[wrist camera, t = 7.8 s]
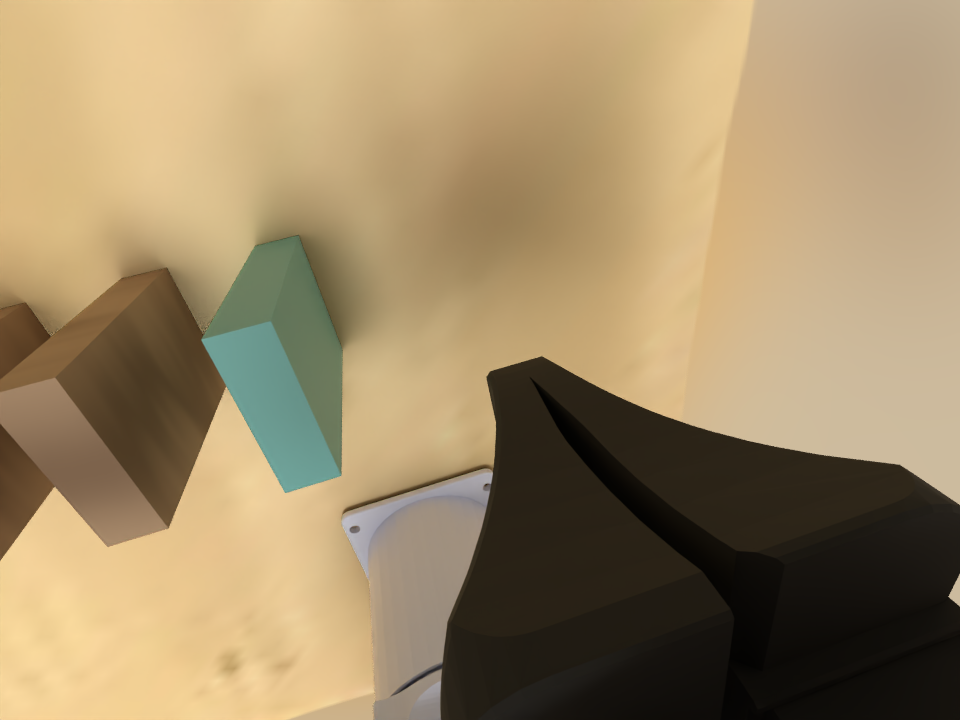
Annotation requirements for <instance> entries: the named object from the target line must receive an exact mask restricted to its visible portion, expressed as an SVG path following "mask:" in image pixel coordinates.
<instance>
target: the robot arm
mask: <svg viewBox="0 0 960 720" xmlns="http://www.w3.org/2000/svg"><path fill="white" fill-rule="evenodd" d="M486 378H487V382H488V387H489V392H490V396H491V401H492V406H493V410H494V415H495V420H496V444H495V459H494V468H493V472H492V470H490V469H487V468H485V469H481V470H477V471H474V472H471V473H468V474H465V475H462V476H458V477H455V478H452V479H449V480H446V481H442V482H439V483H436V484H433V485H430V486H426V487H423V488H420V489H417V490H414V491H411V492H407V493H404V494H401V495H398V496H395V497H391V498H388V499H385V500H382V501H379V502H376V503H372V504H369V505H366V506H363V507H360V508H356V509H353V510H350V511H347V512H345V513H344V514H343V515H342V518H341V523H342V526H343V529H344V531H345V533H346V535H347V537H348V539H349V541H350V543H351V545H352V547H353V549H354V551H355V553H356V555H357V557H358V560H359V562H360V564H361V566H362V568H363V570H364V572H365V574H366V576H367V578H368V580H369V591H370V611H371V631H372V651H373V671H374V691H375V702H374V703H373V718H374V720H960V607H959V606H958V605H957V604H956V603H955V602H954V601H952V600H951V599H950V598H949V597H948V596H949V594H950V592H951V590H952V588H953V586H954V584H955V582H956V580H957V578H958V576H959V574H960V505H959V504H957V503H956V502H954V501H953V500H951V499H950V498H948V497H947V496H946V495H944V494H942V493H941V492H940V491H938V490H937V489H935V488H934V487H932V486H931V485H929V484H928V483H926V482H925V481H923V480H922V479H920V478H919V477H917V476H916V475H914V474H913V473H911V472H910V471H908V470H907V469H905V468H904V467H902V466H900V465H896V464H888V463H880V462H872V461H864V460H856V459H848V458H840V457H832V456H824V455H818V454H812V453H806V452H801V451H795V450H790V449H784V448H779V447H774V446H769V445H764V444H760V443H755V442H750V441H746V440H742V439H739V438H734V437H731V436H727V435H723V434H719V433H715V432H712V431H708V430H705V429H701V428H698V427H695V426H691V425H689V424H686V423H683V422H680V421H677V420H674V419H671V418H668V417H665V416H662V415H660V414H657V413H655V412H652V411H649V410H647V409H645V408H642V407H640V406H638V405H635V404H633V403H631V402H628V401H626V400H624V399H622V398H620V397H617V396H615V395H613V394H611V393H609V392H607V391H605V390H603V389H601V388H599V387H597V386H595V385H593V384H591V383H589V382H587V381H585V380H584V379H582V378H580V377H578V376H576V375H574V374H573V373H571V372H569V371H567V370H565V369H564V368H562V367H560V366H558V365H557V364H555V363H553V362H551V361H550V360H548V359H546V358H544V357H538V358H535V359H531V360H528V361H524V362H521V363H518V364H514V365H511V366H507V367H504V368H500V369H497V370H494V371H490V373H489V374H488V376H487V377H486ZM488 483H489V485H487V486H484V485H485V484H488ZM352 526H358V527H354V528H353V527H352Z"/></svg>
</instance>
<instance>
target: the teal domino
mask: <svg viewBox="0 0 960 720" xmlns="http://www.w3.org/2000/svg"><path fill="white" fill-rule="evenodd" d="M201 341H202V342H203V344H204V346H205V348H206V350H207V352H208V353H209V355H210V357H211V359H212V361H213V362H214V364H215V366H216V368H217V370H218V372H219V373H220V375H221V377H222V379H223V381H224V382H225V384H226V386H227V388H228V390H229V392H230V393H231V395H232V397H233V399H234V401H235V402H236V404H237V406H238V408H239V410H240V412H241V413H242V415H243V417H244V419H245V421H246V423H247V424H248V426H249V428H250V430H251V432H252V433H253V435H254V437H255V439H256V441H257V443H258V444H259V446H260V448H261V450H262V452H263V453H264V455H265V457H266V459H267V461H268V463H269V464H270V466H271V468H272V470H273V472H274V473H275V475H276V477H277V479H278V481H279V483H280V484H281V486H282V488H283V490H284V492H285V493H287V492H290V491H294V490H297V489H300V488H303V487H307V486H310V485H313V484H316V483H320V482H323V481H326V480H329V479H333V478H336V477H339V476H341V467H342V351H343V350H342V347H341V345H340V342H339V339H338V337H337V334H336V332H335V329H334V326H333V324H332V321H331V319H330V316H329V313H328V311H327V308H326V306H325V303H324V300H323V298H322V295H321V293H320V290H319V287H318V285H317V282H316V280H315V277H314V274H313V272H312V269H311V267H310V264H309V261H308V259H307V256H306V254H305V251H304V248H303V246H302V243H301V241H300V238H299V235H297V236H293V237H289V238H285V239H281V240H277V241H273V242H269V243H265V244H261V245H257V246H255V247H254V249H253V250H252V252H251V254H250V256H249V257H248V259H247V261H246V263H245V264H244V266H243V268H242V270H241V271H240V273H239V275H238V277H237V278H236V280H235V282H234V283H233V285H232V287H231V289H230V290H229V292H228V294H227V296H226V297H225V299H224V301H223V303H222V304H221V306H220V308H219V309H218V311H217V313H216V315H215V316H214V318H213V320H212V322H211V323H210V325H209V327H208V329H207V330H206V332H205V334H204V336H203V337H202V339H201Z"/></svg>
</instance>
